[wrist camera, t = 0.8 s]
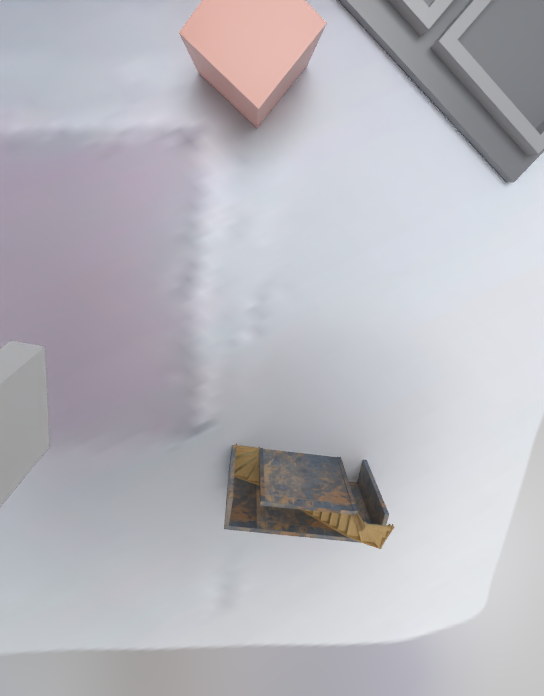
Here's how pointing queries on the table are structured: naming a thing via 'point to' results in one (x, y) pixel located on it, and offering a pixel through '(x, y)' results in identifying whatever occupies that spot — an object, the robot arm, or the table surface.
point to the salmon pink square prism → (252, 49)
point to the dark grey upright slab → (303, 497)
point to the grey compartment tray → (472, 67)
